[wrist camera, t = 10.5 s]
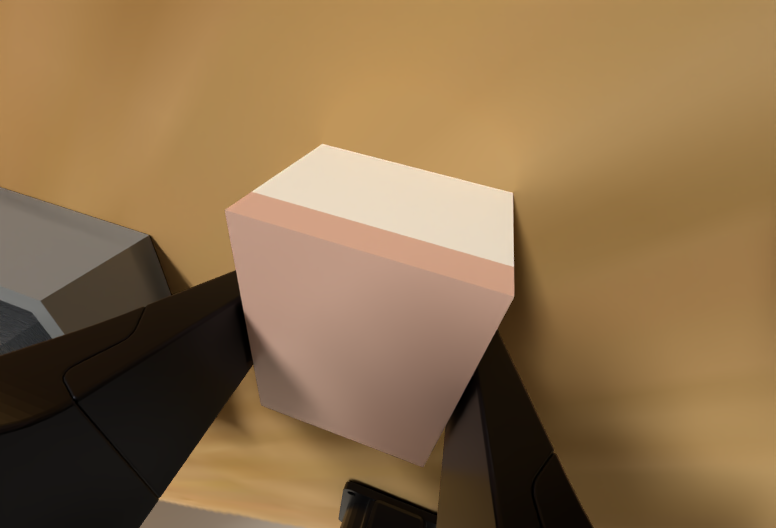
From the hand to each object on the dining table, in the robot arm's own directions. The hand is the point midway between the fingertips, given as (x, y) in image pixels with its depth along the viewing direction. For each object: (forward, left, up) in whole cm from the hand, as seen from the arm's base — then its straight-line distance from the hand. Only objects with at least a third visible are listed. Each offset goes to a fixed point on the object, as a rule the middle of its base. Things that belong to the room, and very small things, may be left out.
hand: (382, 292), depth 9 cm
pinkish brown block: (0, 0, -1) cm, 1 cm away
